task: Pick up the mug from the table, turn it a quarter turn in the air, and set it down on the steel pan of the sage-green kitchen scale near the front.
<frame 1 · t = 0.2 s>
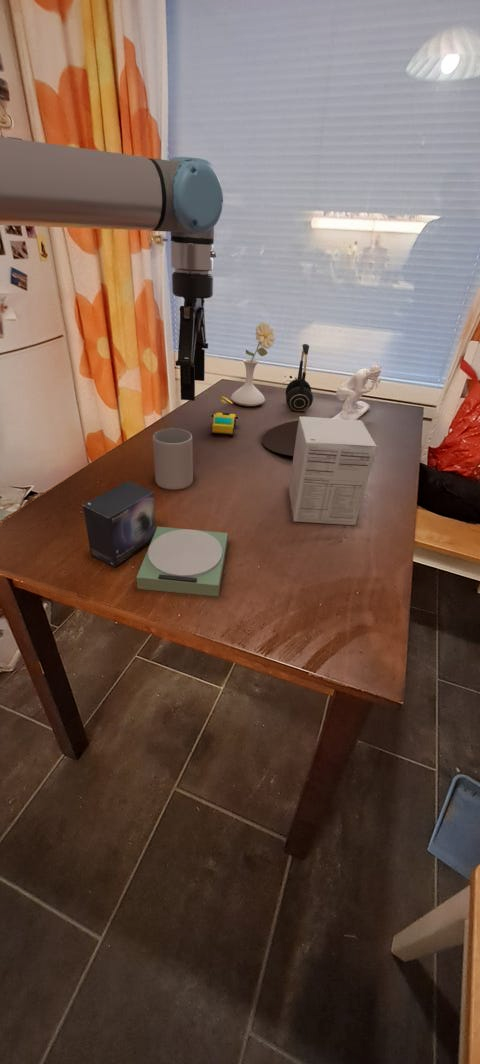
hand: (193, 389, 89), 19 cm above the table, tool pointing down, fingers open, 13 cm apart
headphones: (297, 408, 141), on the table
flower in vase: (249, 403, 142), on the table
scale: (185, 564, 72), on the table
supplement box: (320, 507, 90), on the table
mug: (171, 478, 97), on the table
plate: (311, 445, 117), on the table
small box: (125, 548, 75), on the table
figurine: (349, 417, 137), on the table
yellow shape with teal: (224, 430, 122), on the table
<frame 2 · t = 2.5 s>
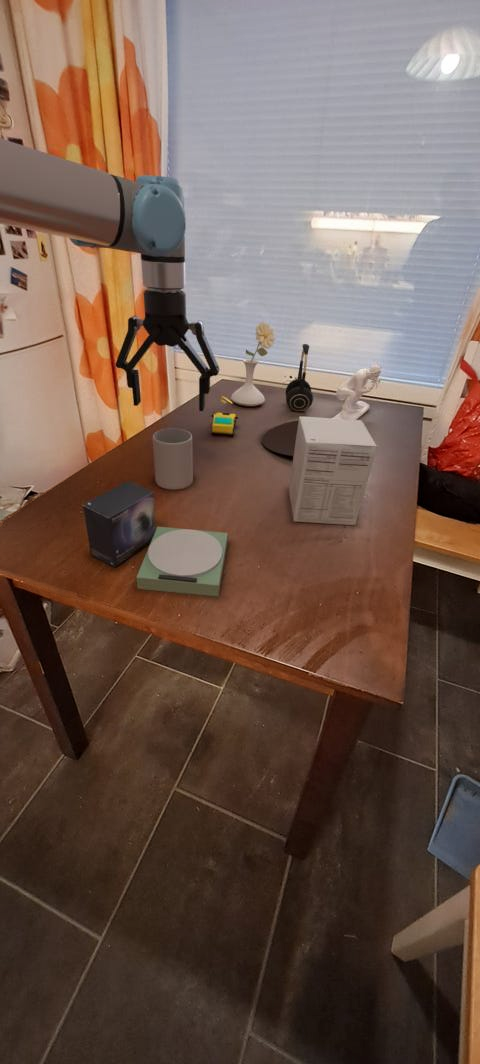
hand: (169, 406, 87), 17 cm above the table, tool pointing down, fingers open, 13 cm apart
nothing on the table moved.
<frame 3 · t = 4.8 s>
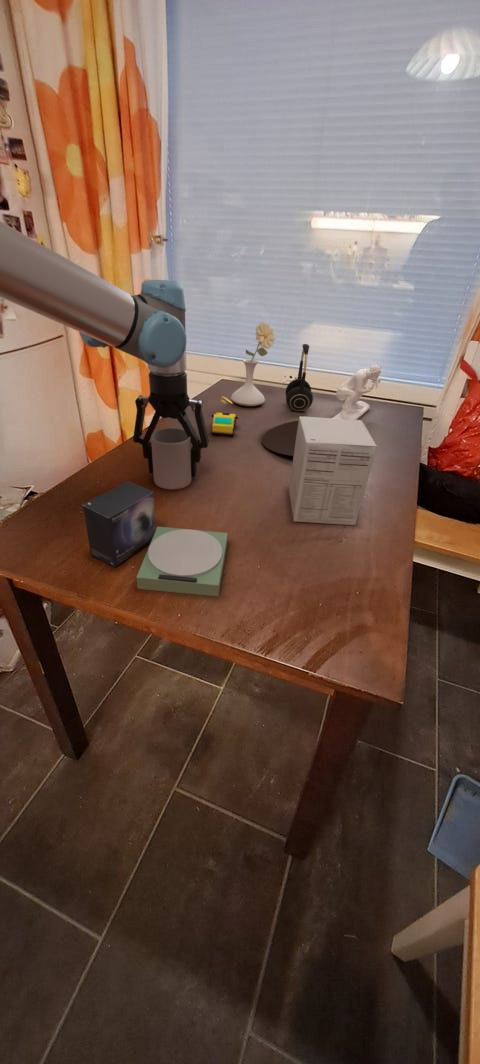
hand: (173, 472, 96), 1 cm above the table, tool pointing down, fingers closed on mug, 9 cm apart
mug: (169, 478, 97), on the table, touching gripper
everything else where it was.
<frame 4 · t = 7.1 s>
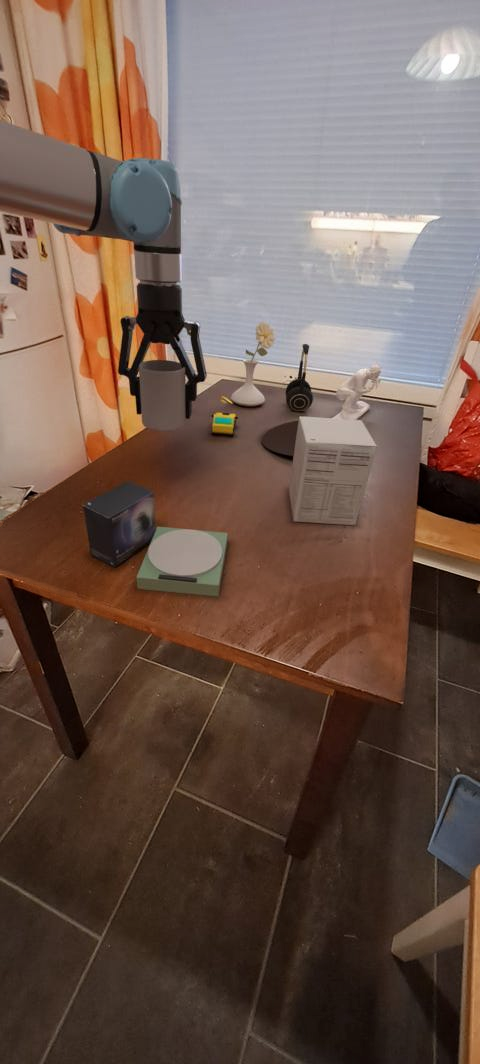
hand: (164, 414, 83), 17 cm above the table, tool pointing down, fingers closed on mug, 9 cm apart
mug: (160, 421, 84), point 15 cm above the table, touching gripper
everything else where it was.
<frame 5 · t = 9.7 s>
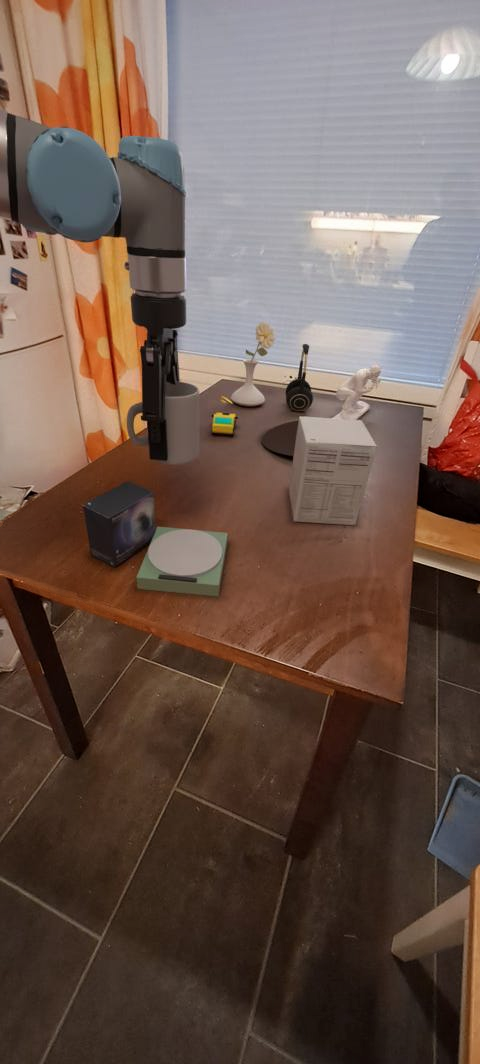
hand: (165, 446, 70), 17 cm above the table, tool pointing down, fingers closed on mug, 9 cm apart
mug: (165, 457, 70), point 16 cm above the table, touching gripper
everything else where it was.
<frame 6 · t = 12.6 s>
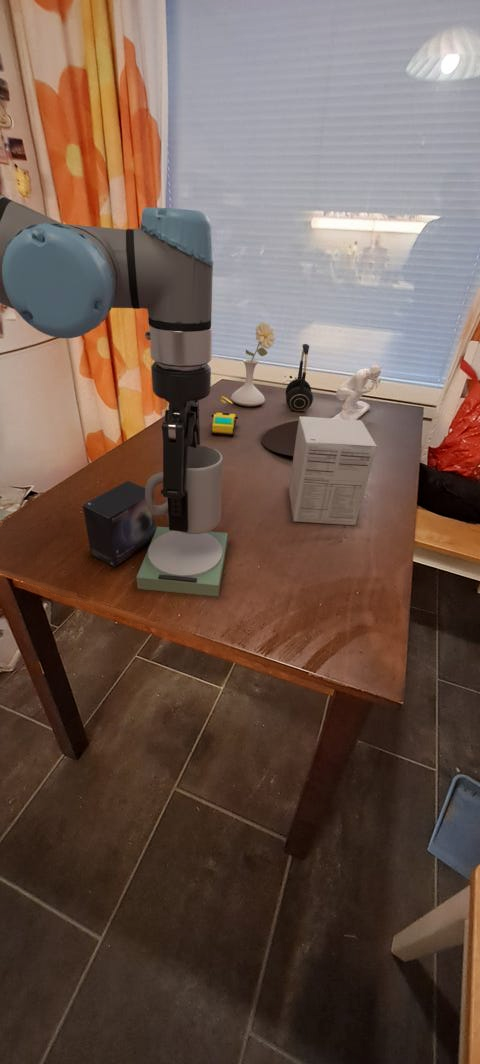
hand: (184, 512, 66), 11 cm above the table, tool pointing down, fingers closed on mug, 9 cm apart
mug: (184, 523, 66), point 9 cm above the table, touching gripper
everything else where it was.
when the fingers open (4 cm above the table, at t = 14.8 s): mug stays where it is, resting on scale.
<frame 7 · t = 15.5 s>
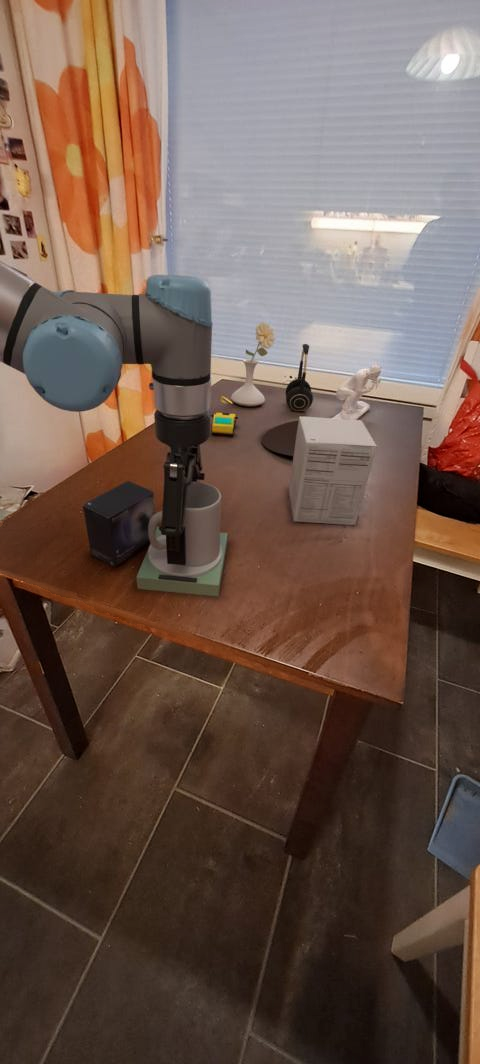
hand: (185, 536, 69), 6 cm above the table, tool pointing down, fingers open, 13 cm apart
mug: (185, 554, 70), point 3 cm above the table, touching scale
everything else where it was.
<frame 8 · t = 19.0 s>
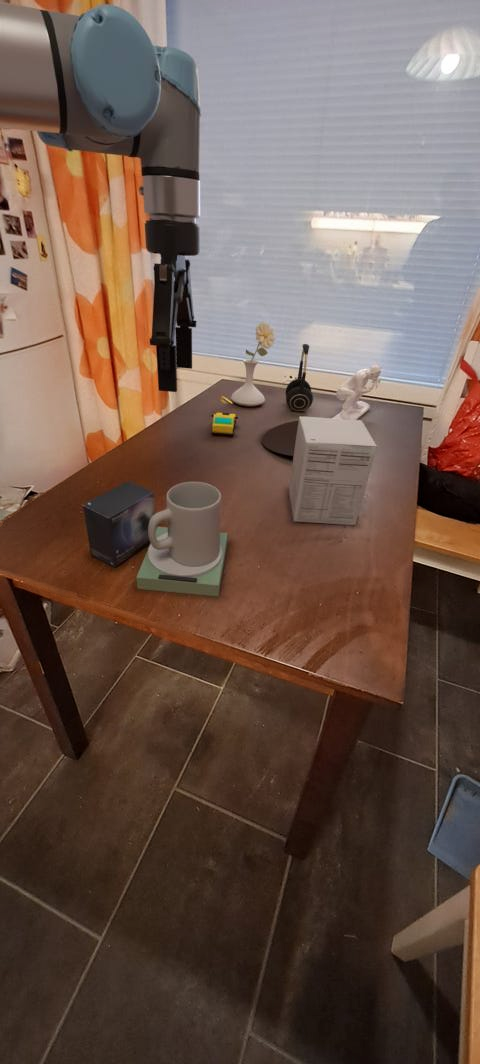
hand: (176, 378, 70), 27 cm above the table, tool pointing down, fingers open, 13 cm apart
nothing on the table moved.
at the end: mug inside the target area on the scale (0.9 cm from its centre), point 2.9 cm above the scale's base; mug tilted 0°; the gripper is holding nothing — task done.
